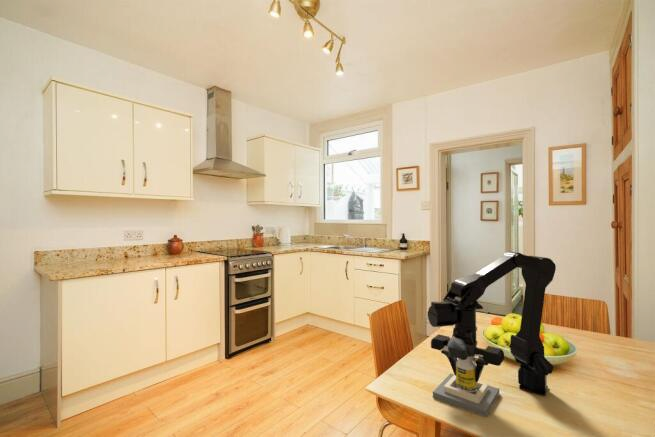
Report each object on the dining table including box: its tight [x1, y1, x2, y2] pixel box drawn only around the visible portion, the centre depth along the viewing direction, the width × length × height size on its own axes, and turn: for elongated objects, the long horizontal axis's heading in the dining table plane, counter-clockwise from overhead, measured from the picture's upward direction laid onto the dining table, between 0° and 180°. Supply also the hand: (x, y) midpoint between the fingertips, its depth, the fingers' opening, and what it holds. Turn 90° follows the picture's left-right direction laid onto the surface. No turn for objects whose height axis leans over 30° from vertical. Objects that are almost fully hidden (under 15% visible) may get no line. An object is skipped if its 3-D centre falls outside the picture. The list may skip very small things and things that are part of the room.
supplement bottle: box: [456, 356, 477, 393], centre depth 89 cm, size 5×5×10 cm
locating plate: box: [432, 372, 500, 418], centre depth 88 cm, size 14×14×3 cm
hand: (466, 378), depth 89 cm, fingers open, 5 cm apart
